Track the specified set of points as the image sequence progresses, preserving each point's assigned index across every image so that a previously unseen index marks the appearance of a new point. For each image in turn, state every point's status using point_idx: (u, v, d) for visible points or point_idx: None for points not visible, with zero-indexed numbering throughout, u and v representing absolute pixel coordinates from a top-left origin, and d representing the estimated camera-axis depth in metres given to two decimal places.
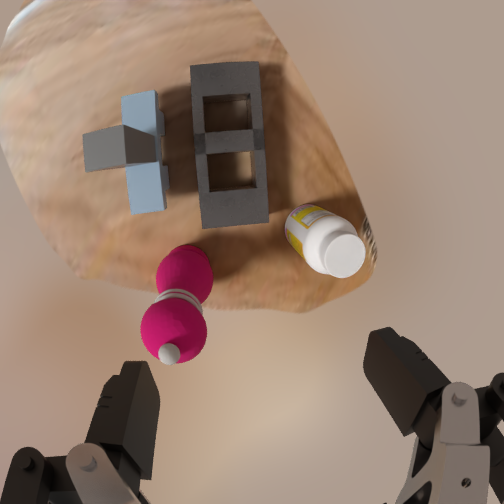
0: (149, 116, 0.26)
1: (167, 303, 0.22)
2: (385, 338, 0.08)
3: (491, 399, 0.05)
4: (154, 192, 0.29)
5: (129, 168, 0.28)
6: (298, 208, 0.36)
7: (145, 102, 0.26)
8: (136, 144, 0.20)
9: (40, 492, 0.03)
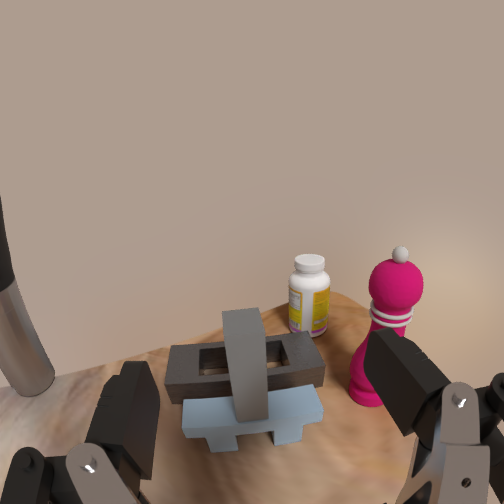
0: (212, 402, 0.26)
1: (372, 286, 0.25)
2: (385, 338, 0.08)
3: (491, 399, 0.05)
4: (295, 393, 0.26)
5: (270, 416, 0.24)
6: (293, 328, 0.44)
7: (195, 406, 0.25)
8: None
9: (40, 492, 0.03)
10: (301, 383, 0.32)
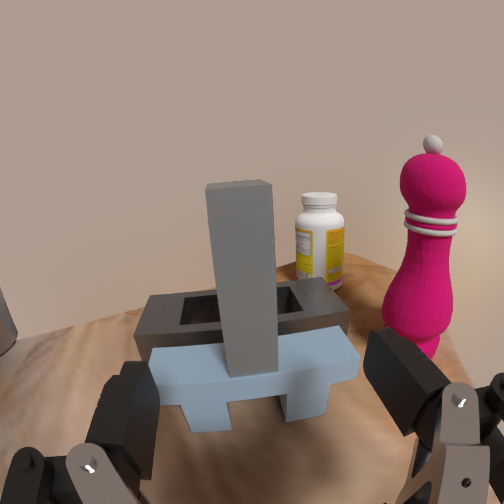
0: (193, 351, 0.18)
1: (406, 181, 0.18)
2: (385, 338, 0.08)
3: (491, 398, 0.05)
4: (316, 336, 0.19)
5: (280, 368, 0.16)
6: None
7: (168, 356, 0.18)
8: None
9: (40, 492, 0.03)
10: None
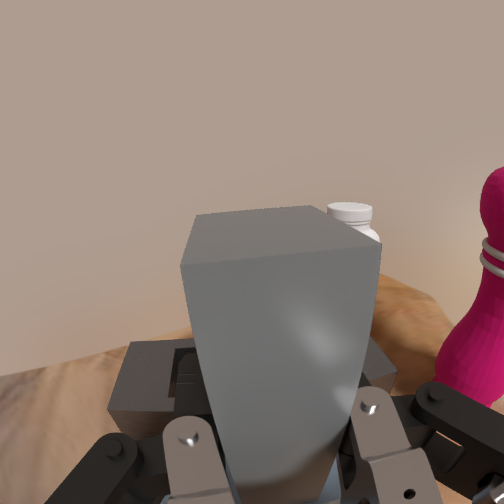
0: None
1: (498, 205, 0.10)
2: None
3: (420, 413, 0.05)
4: None
5: (320, 495, 0.08)
6: None
7: None
8: None
9: (119, 484, 0.04)
10: None
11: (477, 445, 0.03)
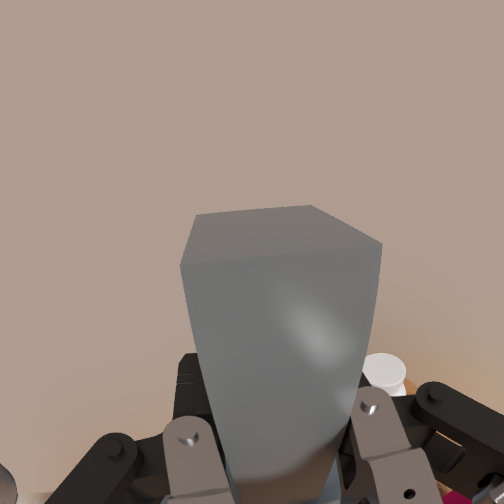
0: None
1: None
2: None
3: (420, 413, 0.05)
4: None
5: (321, 495, 0.08)
6: None
7: None
8: None
9: (120, 484, 0.04)
10: None
11: (477, 445, 0.03)
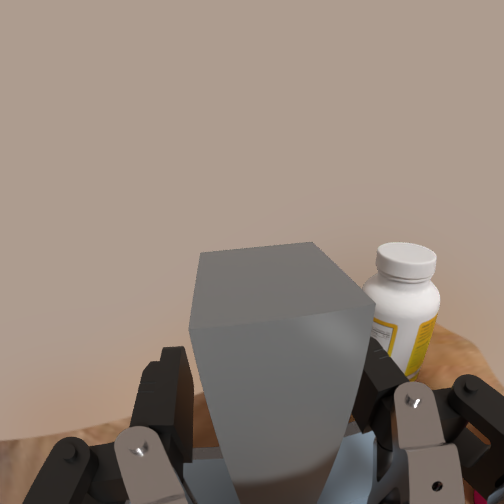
0: (192, 470, 0.10)
1: None
2: None
3: (455, 403, 0.05)
4: (362, 445, 0.11)
5: (317, 502, 0.08)
6: None
7: None
8: None
9: (79, 485, 0.03)
10: None
11: (501, 439, 0.03)
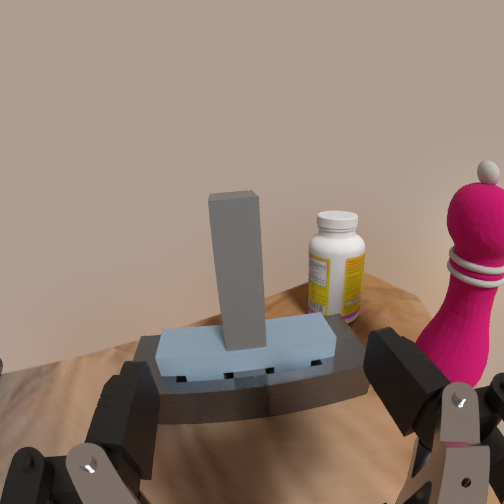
0: (197, 331, 0.22)
1: (459, 219, 0.13)
2: (385, 338, 0.08)
3: (491, 398, 0.05)
4: (300, 320, 0.23)
5: (268, 344, 0.20)
6: None
7: (176, 335, 0.22)
8: None
9: (40, 492, 0.03)
10: (337, 392, 0.20)
11: None
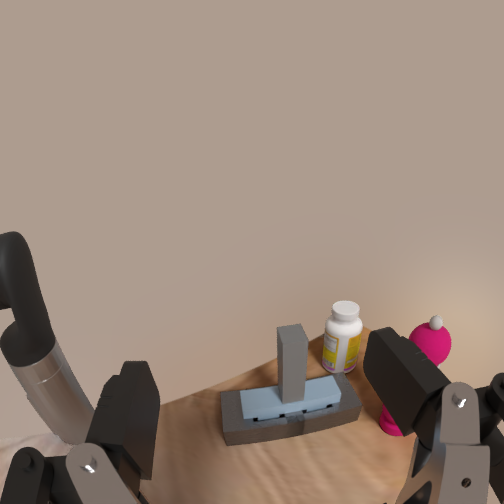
0: (262, 391, 0.36)
1: None
2: (385, 338, 0.08)
3: (491, 398, 0.05)
4: (320, 382, 0.37)
5: (304, 398, 0.34)
6: (327, 367, 0.46)
7: (250, 394, 0.36)
8: None
9: (40, 492, 0.03)
10: (340, 420, 0.34)
11: None
